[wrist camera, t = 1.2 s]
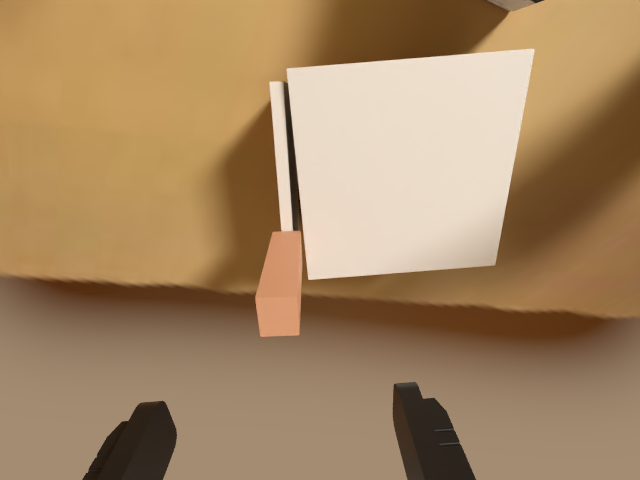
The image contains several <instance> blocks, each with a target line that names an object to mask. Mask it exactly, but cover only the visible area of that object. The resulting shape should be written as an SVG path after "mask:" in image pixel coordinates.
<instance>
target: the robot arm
mask: <svg viewBox="0 0 640 480" xmlns="http://www.w3.org/2000/svg"><path fill="white" fill-rule="evenodd" d="M393 421H394V427H395V432H396V436H397V440H398V444H399V448H400V452H401V456H402V459H403V464H404V468H405V472H406V475H407V479H408V480H476V479H475V476H474V474H473V472H472V469H471V467H470V465H469V463H468V460H467V458H466V455H465V453H464V451H463V449H462V446H461V445H460V443H459V439H458V437H457V435H456V432H455V431H454V428H453V425H452V423H451V421H450V418H449V416H448V414H447V412H446V410H445V409H444V408H443V407H442V406H441V405H440V404H439V403H438V401H437V400H436V399H435V398H428V399H423V398H422V395H421V392H420V390H419V387H418V385H417V383H416V382H410V383H398V384H394V391H393ZM176 438H177V432H176V428H175V425H174V423H173V420H172V417H171V415H170V412H169V410H168V407H167V405H166V403H165V402H164V401H158V402H145V403H140V404H139V405H138V406H137V407H136V409H135V411H134V412H133V414H132V416H131V418H130V419H129V421H124V422H121V423H120V424H119V425H118V426H117V427H116V428H115V430H114V431H113V432H112V433H111V434H110V435H109V436H108V437H107V438H106V440H105V442H104V444H103V445H102V447H101V449H100V450H99V452H98V454H97V458H95V459H94V461H93V462H92V464H91V466H90V468H89V471H88V473H86V475H85V476H84V478H83V480H163V478H164V475H165V473H166V470H167V467H168V464H169V462H170V459H171V457H172V454H173V451H174V448H175V445H176Z"/></svg>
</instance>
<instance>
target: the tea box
mask: <svg viewBox="0 0 640 480" xmlns="http://www.w3.org/2000/svg"><path fill="white" fill-rule="evenodd" d="M487 1H489V2H491V3H493V4H495V5H497V6H499V7H501V8H504V9H506V10H508V11H509V12H510V11H515V10H518V9H521V8H524V7H527V6H530V5H532V4H535V3H538V2H540V1H543V0H487Z"/></svg>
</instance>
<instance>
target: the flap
mask: <svg viewBox="0 0 640 480" xmlns="http://www.w3.org/2000/svg"><path fill="white" fill-rule="evenodd" d="M270 95H271V107H272V120H273V132H274V145H275V157H276V169H277V182H278V194H279V207H280V219H281V231H279V232H272V236H271V240H270V244H269V248H268V251H267V255H266V259H265V263H264V267H263V270H262V274H261V278H260V282H259V286H258V290H257V293H256V297H255V300H256V307H257V315H258V322H259V330H260V337H267V336H294V335H299V332H300V309H301V284H302V242H301V231H299V211H298V192H297V174H296V155H295V146H294V136H293V126H292V117H291V107H290V97H289V88H288V83H286V82H270Z"/></svg>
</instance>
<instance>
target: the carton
mask: <svg viewBox="0 0 640 480" xmlns="http://www.w3.org/2000/svg"><path fill="white" fill-rule="evenodd" d="M534 51H535V49H524V50H511V51H499V52H486V53H474V54H461V55H449V56H437V57H424V58H412V59H399V60H387V61H374V62H362V63H349V64H337V65H325V66H312V67H300V68H287V78H288V88H289V97H290V107H291V117H292V126H293V136H294V146H295V155H296V165H297V175H298V184H299V194H300V204H301V214H302V223H303V233H304V243H305V252H306V262H307V272H308V280H314V279H327V278H339V277H352V276H365V275H378V274H391V273H404V272H416V271H429V270H442V269H455V268H468V267H481V266H493V265H495V263H496V258H497V252H498V247H499V242H500V236H501V231H502V225H503V220H504V214H505V209H506V203H507V198H508V193H509V187H510V182H511V176H512V171H513V165H514V160H515V154H516V149H517V143H518V138H519V133H520V127H521V122H522V116H523V111H524V105H525V100H526V94H527V89H528V83H529V78H530V73H531V67H532V62H533V56H534Z"/></svg>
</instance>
